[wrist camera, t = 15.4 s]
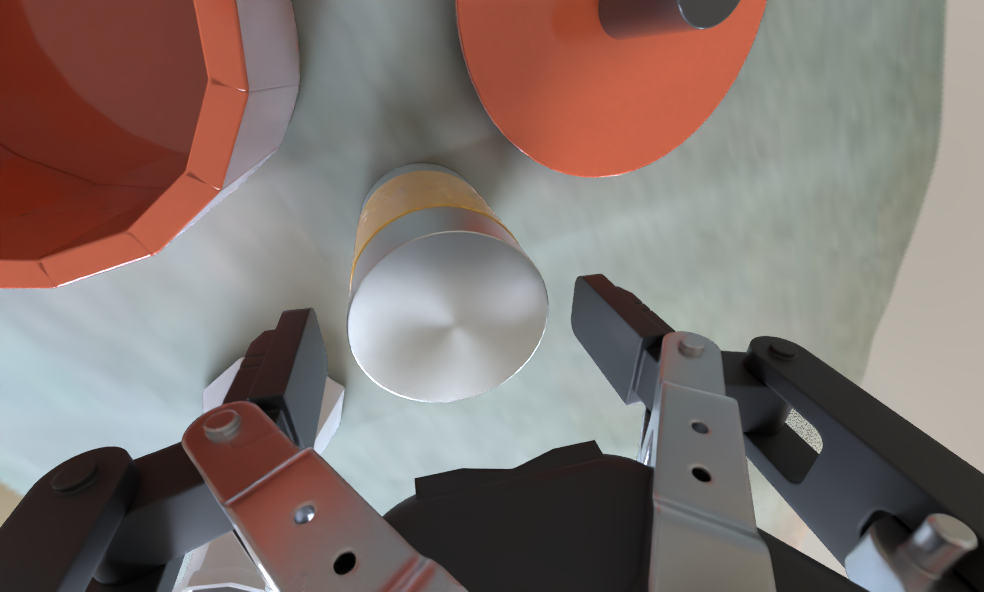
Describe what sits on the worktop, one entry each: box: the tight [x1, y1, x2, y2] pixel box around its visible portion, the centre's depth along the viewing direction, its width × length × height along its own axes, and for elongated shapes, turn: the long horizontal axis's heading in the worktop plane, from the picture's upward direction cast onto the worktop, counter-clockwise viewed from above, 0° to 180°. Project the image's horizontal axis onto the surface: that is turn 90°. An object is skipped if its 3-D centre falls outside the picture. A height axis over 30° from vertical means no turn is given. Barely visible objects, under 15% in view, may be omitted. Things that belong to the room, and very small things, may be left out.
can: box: [347, 163, 548, 402], centre depth 15 cm, size 6×6×9 cm
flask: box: [172, 357, 345, 592], centre depth 18 cm, size 7×7×10 cm
